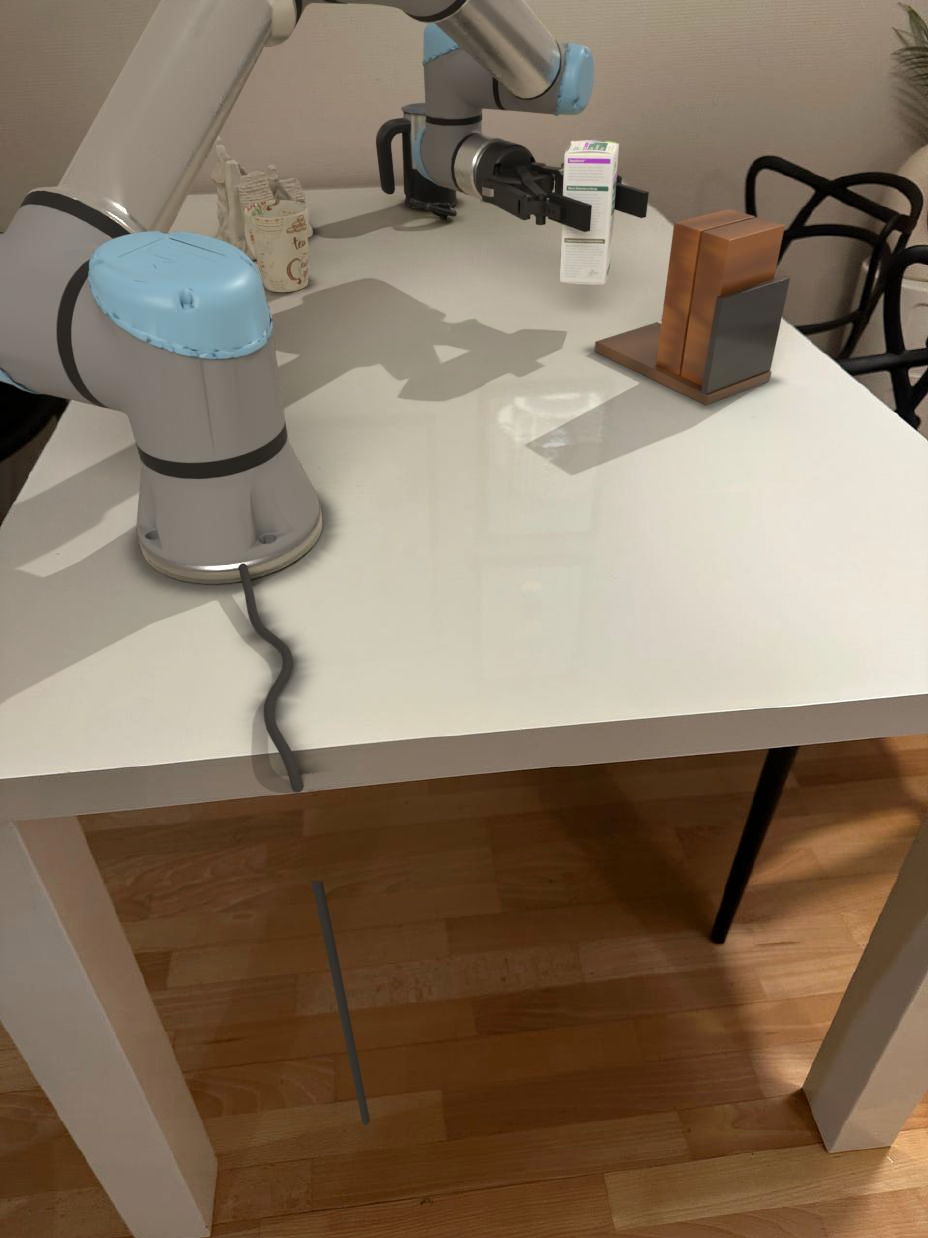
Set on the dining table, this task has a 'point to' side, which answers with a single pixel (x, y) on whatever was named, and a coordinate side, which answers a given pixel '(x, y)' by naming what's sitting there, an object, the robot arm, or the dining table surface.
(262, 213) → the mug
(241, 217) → the ceramic cottage
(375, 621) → the dining table surface
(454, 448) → the dining table surface
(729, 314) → the wooden bookend
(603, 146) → the syrup box
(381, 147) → the milk frother
